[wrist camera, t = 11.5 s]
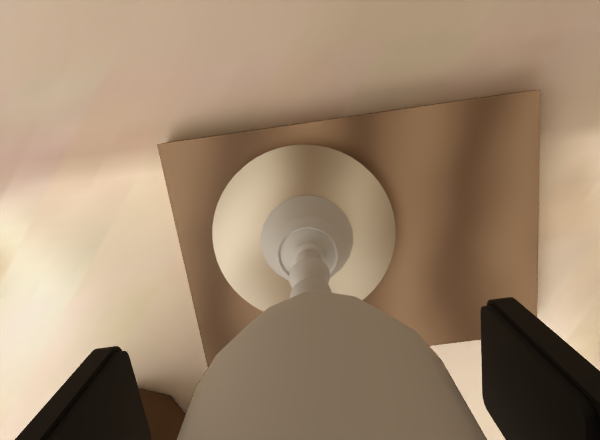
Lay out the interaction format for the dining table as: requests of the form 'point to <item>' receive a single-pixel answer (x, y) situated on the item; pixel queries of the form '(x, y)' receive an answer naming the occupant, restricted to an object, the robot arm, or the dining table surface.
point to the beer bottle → (162, 415)
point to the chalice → (324, 355)
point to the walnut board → (369, 212)
